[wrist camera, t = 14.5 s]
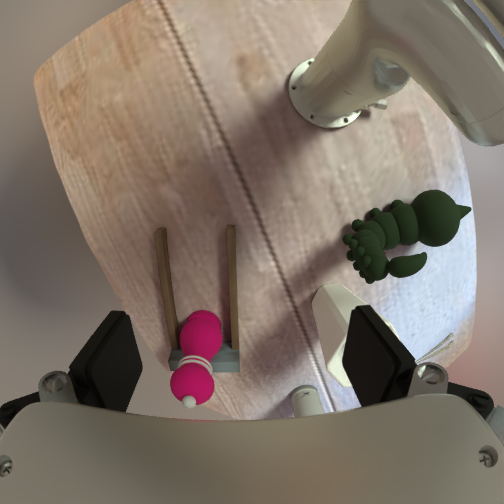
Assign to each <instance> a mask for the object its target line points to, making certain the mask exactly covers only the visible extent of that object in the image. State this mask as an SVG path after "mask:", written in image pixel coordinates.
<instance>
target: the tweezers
mask: <svg viewBox="0 0 504 504" xmlns="http://www.w3.org/2000/svg"><path fill="white" fill-rule="evenodd" d="M451 336H453V332H452V333H451V334H450V335H448V336H447V337H446V338H445V339H444V340H443V341H442V342H441V343H439V344H438V345H437V346H436V347H434V348H433V349H432V350H431V351H429V352H428V353H427V354H425V355H424V356H423V357H421V358H420V359H422V358H424V357H425V356H427V355H429V354H430V353H431V352H433V351H434V350H435V349H437V348H438V347H440V346H441V345H443V344H444V343H445V342H446V341H447V340H449V339H450V337H451ZM445 340H446V341H445ZM452 343H453V341H451V343H450V344H448V345H447V346H445V347H443V348H441V349H440V350H438V351H436V352H434V353H433V354H431V355H430V356H428V357H426V358H424V359H422V360H420V359H418V360H417V361H418V362H417V361H416V362H417V363H419V362H422V361H424V360H426V359H428V358H430V357H433V356H435V355H437V354H439V353H442V352H443V351H445V350H446V349H448V348H449V347H451V346H452ZM445 348H446V349H445ZM419 360H420V361H419ZM417 363H416V364H417Z"/></svg>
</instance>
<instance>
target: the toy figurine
mask: <svg viewBox="0 0 504 504" xmlns="http://www.w3.org/2000/svg"><path fill="white" fill-rule="evenodd" d="M470 211H471V208H470V207H467V206H462V205H457V204H456V203H455V202H454V200H453V199H452V198H451V197H450V196H449V195H447V194H446V193H444V192H443V191H440V190H428V191H425V192H422V193H421V194H419V195H418V196H417V197H416V198H415V199H414V200H413V202H412V204H411V205H409V204H404V203H403V202H402V201H401V200H395V201H393V202H392V204H391V212H390V213H389V212H381V211H380V210H379V209H378V208H373V209H372V210H371V211H370V216H371V218H372V219H371V220H370V221H367V222H365V223H363V221H361V220H359V219H356V220H354V221H353V222H352V229H353V230H354V231H356V232H357V233H355V234H354V236H352V235H351V234H346V235H344V236H343V239H342V240H343V242H344V244H345V245H349V248H350V249H351V250H349V251H348V252H347V259H348V260H350V261H354V260H355V262H354V263H353V267H354V269H355V270H357V271H359V270H360V271H359V274H360V277H362V278H365V280H366V283H368V284H372V283H373V282H374V281H378V280H382V279H384V278H385V277H386V276H387V275H388V273H390V274H391V275H392V276H394V277H398V278H403V277H408V276H411V275H413V274H415V273H417V272H418V271H419V270H421V269H422V268H423V266H424V265H425V263H426V261H427V254H426V253H425V252H422V253H421V254H416V255H411V256H400V257H396V258H393V259H392V260H391V261H390V262H389V260H388V259H387V257H386V256H385V253H384V251H383V250H389V249H392V248H394V247H396V246H397V245H398V244H401V245H412V244H414V243H416V242H417V241H420V242H421V243H423V244H425V245H427V246H432V247H438V246H442V245H445V244H447V243H448V242H450V241H451V240H452V239H453V238H454V236H455V235H456V233H457V231H458V228H459V224H460V220H461V219H462V218H463V217H464V216H465V215H467V214H468V213H469V212H470Z"/></svg>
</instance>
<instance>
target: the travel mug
mask: <svg viewBox="0 0 504 504" xmlns="http://www.w3.org/2000/svg"><path fill="white" fill-rule="evenodd" d="M290 398H291V402H292V407H293V412H294V416H295V417H301V416H309V415H317V414H324V413H325V412H324V409H323V406H322V403H321V400H320V397H319V394H318V391H317V389H316V388H315V387H314V386H311V385H304V386H300V387H298V388H296V389H295V390H294V391H293V392H292V393H291V396H290Z"/></svg>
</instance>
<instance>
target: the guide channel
mask: <svg viewBox="0 0 504 504" xmlns="http://www.w3.org/2000/svg"><path fill="white" fill-rule="evenodd" d="M155 242H156V251H157V260H158V268H159V276H160V283H161V290H162V297H163V303H164V309H165V315H166V321H167V326H168V332H169V337H170V342H171V347H172V351H171V354H170V357H169V360H168V363H169V367H170V371H175V370H176V369H177V368H178V364H179V362H180V360H181V359H182V358H184V353H183V350H182V347H181V344H180V336H179V330H178V324H177V318H176V311H175V304H174V297H173V290H172V282H171V274H170V265H169V256H168V246H167V235H166V228H158V229H157V230H156V231H155ZM227 254H228V278H229V299H230V318H231V336H232V342H222V346H221V348H220V350H219V351H218V353H217V354H216V355H215V356H214V357H213V358H212V359H211V362H210V364H211V366H212V372H240V362H239V331H238V306H237V278H236V245H235V225H232V226H227Z"/></svg>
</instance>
